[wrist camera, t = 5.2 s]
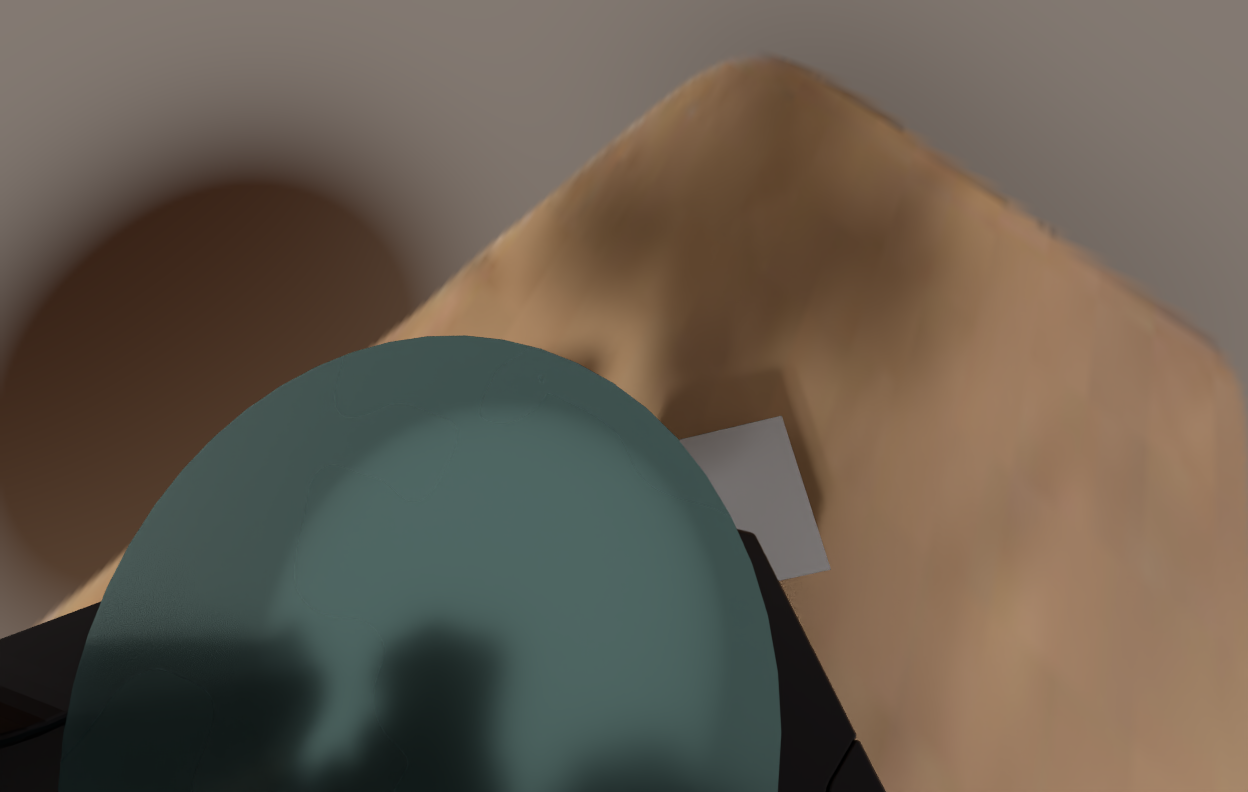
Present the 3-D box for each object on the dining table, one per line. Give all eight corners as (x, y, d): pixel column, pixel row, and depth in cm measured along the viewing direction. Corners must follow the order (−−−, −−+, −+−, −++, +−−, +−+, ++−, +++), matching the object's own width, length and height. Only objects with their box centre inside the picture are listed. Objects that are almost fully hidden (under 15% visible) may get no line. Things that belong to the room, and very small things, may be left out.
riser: (809, 562, 20) (830, 569, 18) (673, 592, 21) (672, 603, 18) (768, 429, 22) (781, 415, 19) (642, 459, 22) (637, 449, 20)
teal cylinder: (730, 637, 12) (935, 1055, 2) (543, 697, 12) (34, 1330, 3) (666, 451, 13) (637, 254, 4) (500, 506, 14) (73, 447, 4)
